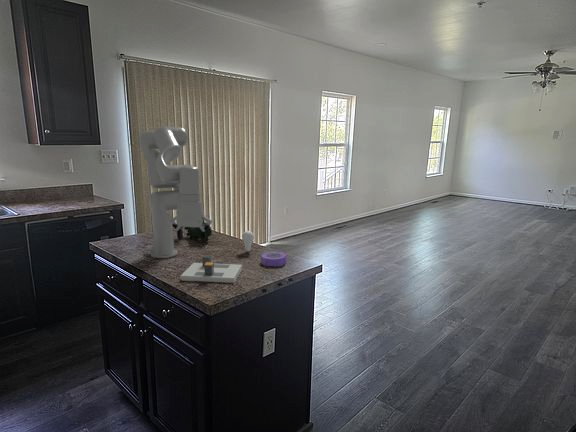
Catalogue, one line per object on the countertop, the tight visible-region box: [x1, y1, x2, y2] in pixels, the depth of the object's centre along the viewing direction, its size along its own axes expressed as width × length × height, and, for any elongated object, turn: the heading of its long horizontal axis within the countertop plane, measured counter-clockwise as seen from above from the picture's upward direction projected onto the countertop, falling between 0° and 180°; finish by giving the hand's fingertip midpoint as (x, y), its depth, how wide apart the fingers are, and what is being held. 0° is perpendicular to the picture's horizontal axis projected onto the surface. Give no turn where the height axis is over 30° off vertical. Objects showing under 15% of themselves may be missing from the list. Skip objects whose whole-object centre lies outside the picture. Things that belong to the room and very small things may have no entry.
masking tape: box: [260, 251, 287, 268], centre depth 170 cm, size 12×12×4 cm
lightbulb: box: [241, 230, 255, 253], centre depth 185 cm, size 6×6×11 cm
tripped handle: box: [204, 261, 215, 275], centre depth 148 cm, size 3×3×4 cm
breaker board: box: [180, 262, 243, 284], centre depth 154 cm, size 22×16×2 cm
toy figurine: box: [184, 221, 213, 243], centre depth 204 cm, size 9×19×25 cm
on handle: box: [201, 254, 212, 266], centre depth 158 cm, size 3×3×4 cm
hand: (191, 240), depth 146 cm, fingers open, 8 cm apart
